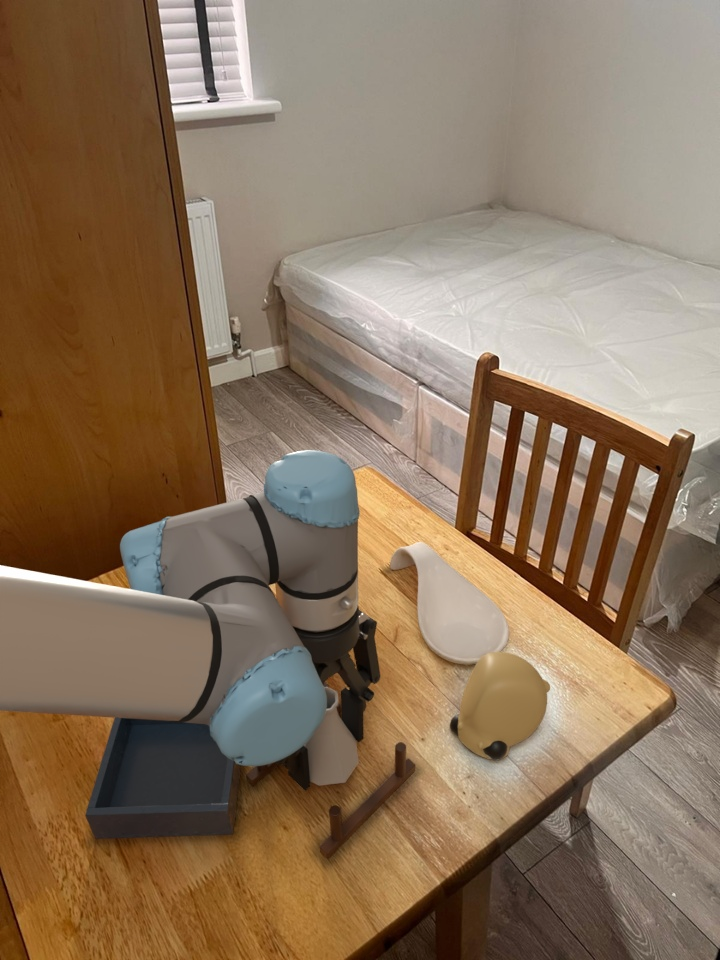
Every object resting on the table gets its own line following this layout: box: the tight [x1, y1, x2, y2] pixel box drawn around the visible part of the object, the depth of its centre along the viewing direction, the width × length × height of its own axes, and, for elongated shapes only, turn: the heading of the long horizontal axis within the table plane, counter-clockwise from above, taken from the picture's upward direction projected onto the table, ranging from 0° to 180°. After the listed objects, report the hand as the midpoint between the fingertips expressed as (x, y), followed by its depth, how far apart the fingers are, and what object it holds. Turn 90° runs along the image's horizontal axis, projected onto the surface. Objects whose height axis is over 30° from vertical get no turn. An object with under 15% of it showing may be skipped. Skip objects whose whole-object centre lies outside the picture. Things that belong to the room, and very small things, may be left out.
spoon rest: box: [389, 541, 510, 665], centre depth 101 cm, size 24×12×7 cm, turn 25°
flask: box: [304, 686, 360, 786], centre depth 78 cm, size 7×7×10 cm
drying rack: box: [245, 682, 416, 860], centre depth 81 cm, size 14×13×6 cm
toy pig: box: [449, 651, 551, 761], centre depth 85 cm, size 10×12×11 cm
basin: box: [85, 717, 242, 840], centre depth 82 cm, size 15×15×5 cm
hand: (326, 756), depth 81 cm, fingers closed on flask, 7 cm apart
